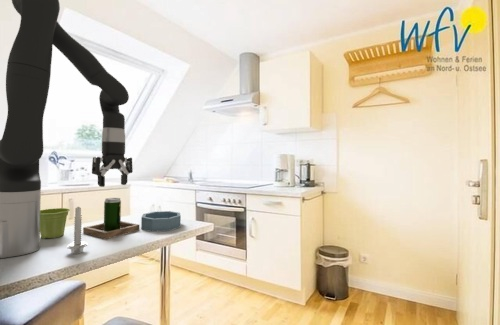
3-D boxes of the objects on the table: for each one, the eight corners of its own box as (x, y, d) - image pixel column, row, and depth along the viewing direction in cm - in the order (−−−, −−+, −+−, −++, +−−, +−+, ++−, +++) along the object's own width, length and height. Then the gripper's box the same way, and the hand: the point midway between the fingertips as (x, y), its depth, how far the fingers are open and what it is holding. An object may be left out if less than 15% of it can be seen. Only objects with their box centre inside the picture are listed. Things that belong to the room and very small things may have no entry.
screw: (90, 249, 75) (80, 255, 70) (73, 249, 75) (62, 255, 70) (91, 205, 75) (81, 208, 70) (74, 204, 75) (63, 208, 70)
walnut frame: (106, 239, 85) (106, 233, 85) (83, 232, 91) (83, 227, 91) (139, 230, 96) (139, 224, 96) (117, 225, 102) (117, 220, 102)
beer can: (106, 234, 90) (106, 200, 90) (101, 231, 94) (102, 198, 94) (122, 231, 94) (123, 199, 94) (117, 228, 98) (118, 197, 97)
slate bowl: (160, 233, 93) (160, 220, 93) (133, 227, 100) (134, 215, 100) (187, 224, 106) (187, 213, 106) (162, 220, 113) (162, 210, 113)
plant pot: (41, 242, 80) (41, 214, 80) (29, 237, 85) (29, 211, 85) (74, 235, 88) (75, 210, 88) (61, 230, 93) (62, 207, 93)
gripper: (101, 139, 85) (100, 188, 86) (137, 142, 98) (136, 184, 98) (87, 140, 89) (87, 186, 89) (124, 142, 101) (124, 183, 102)
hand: (113, 185), depth 94 cm, fingers open, 8 cm apart
